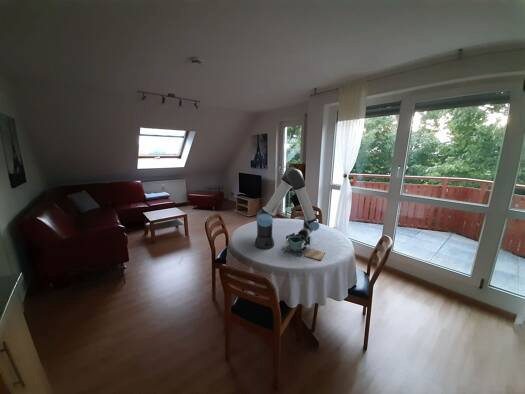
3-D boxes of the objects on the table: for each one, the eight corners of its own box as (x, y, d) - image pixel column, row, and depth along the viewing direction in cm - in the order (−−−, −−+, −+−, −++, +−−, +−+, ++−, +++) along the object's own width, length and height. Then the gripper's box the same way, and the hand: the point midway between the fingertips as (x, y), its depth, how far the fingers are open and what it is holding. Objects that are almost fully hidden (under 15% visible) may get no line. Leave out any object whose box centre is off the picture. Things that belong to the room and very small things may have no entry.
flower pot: (293, 254, 149) (294, 242, 147) (287, 248, 157) (287, 237, 154) (303, 252, 152) (304, 240, 150) (297, 246, 160) (297, 235, 158)
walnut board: (303, 256, 146) (303, 255, 146) (308, 249, 157) (308, 248, 156) (320, 260, 141) (320, 259, 140) (324, 253, 151) (325, 252, 151)
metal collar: (283, 251, 152) (283, 249, 152) (290, 244, 163) (290, 242, 163) (300, 256, 146) (301, 254, 145) (307, 248, 157) (307, 247, 157)
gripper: (318, 241, 163) (309, 253, 145) (289, 234, 175) (278, 245, 156) (318, 232, 161) (310, 243, 143) (290, 226, 173) (279, 235, 154)
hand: (293, 244), depth 150 cm, fingers closed on flower pot, 11 cm apart
